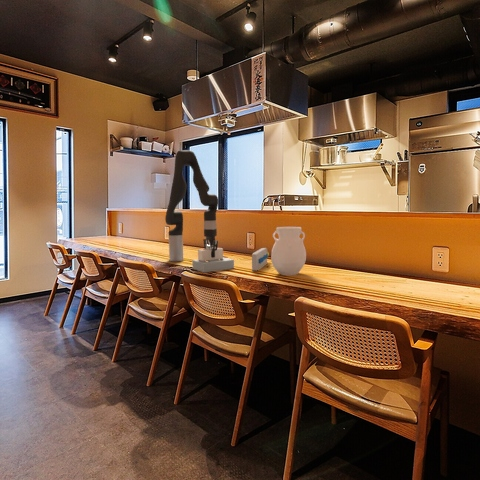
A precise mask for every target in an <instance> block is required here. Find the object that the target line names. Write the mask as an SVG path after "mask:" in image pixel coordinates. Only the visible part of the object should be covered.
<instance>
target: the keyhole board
mask: <svg viewBox="0 0 480 480" xmlns="http://www.w3.org/2000/svg"><path fill="white" fill-rule="evenodd" d="M230 269H235V260H234V259H233V258H228V257H224V256H223V259H218V260H217V259H215V260H206V261H201V260H198V259H192V270H195V271H199V272H202V273H209V272H216V271H217V272H218V271H223V270H224V271H225V270H230Z"/></svg>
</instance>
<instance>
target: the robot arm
mask: <svg viewBox="0 0 480 480" xmlns="http://www.w3.org/2000/svg"><path fill="white" fill-rule="evenodd" d="M187 166H188V167H190V168H191V169H192V172H193V173H192V174H193V175H192V182H193V185H194V187H195V188H196V191H197V192H198V196H199V202H200V203H201V205H203V206H204V207H208V208H207V210H205V211H204V212H203V236H204V237H205V238H203V239H202V240H203V247H204V248H203V249H210V248H211V257H212V258H214V257H215V251H216V250H217V248H219V247H218V244H219V241H218V240H216V237H217V235H218V234H217V233H218V231H217V230H218V227H217V225H218V224H217V210H218V206H219V198H218V196H217V195H216V194H215V193H214V194H213V193H208V192H209V191H210V186H209V183H208V182H207V181H206V179H205V177H204V175H203V173H202V170H201V166H200V165H199V161H198V159H197V156H196V154H195V152H194V151H193V150H192V149H191V150H190V149H188V150H187V149H185V150H178V151H176V155H175V158H174V172H173V178H172V183H171V188H170V189H171V190H170V196H169V201H168V205H167V209H166V212H165V217H164V218H165V223H166V225H168V226H175V227H174V228H172V229H170V230H169V231H168V252H169V255H168V257H169V258H168V259H169V262H183V261H184V241H183V239H184V238H183V237H184V235H183V233H184V232H183V231H184V215H183V212H182V211H181V210H175V209H176V207H177V206H178V205H179V204H180V203H181V202H182V200H183V199H184V198H185V197H186V192H187V187H188V186H187V182H186V180H185V177H184V167H187ZM212 248H213V249H212Z"/></svg>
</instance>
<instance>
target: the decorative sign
mask: <svg viewBox="0 0 480 480" xmlns="http://www.w3.org/2000/svg"><path fill="white" fill-rule="evenodd" d="M269 256H270V252H269V251H268V248H267V247H262V248H259V249H258V250H256V251H254V252H253V253H252V254H251V271H254V272H258V271H259V270H260V269H262V268H263V267H264V266H265V265H267V263H268V258H269ZM261 267H262V268H261ZM257 270H258V271H257Z"/></svg>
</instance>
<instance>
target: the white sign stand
mask: <svg viewBox="0 0 480 480" xmlns="http://www.w3.org/2000/svg"><path fill="white" fill-rule="evenodd" d="M212 249H213V247H212ZM197 256H198V257H197V260H201V261H206V260H215V259H217V260H220V259H223V257H224V248H222V247H217V250H216V251H215V257H214V258H212V257H211V248H210V249H205V248H203V249H202V248H201V249H200V248H199V249H197ZM206 262H207V261H206Z"/></svg>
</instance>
